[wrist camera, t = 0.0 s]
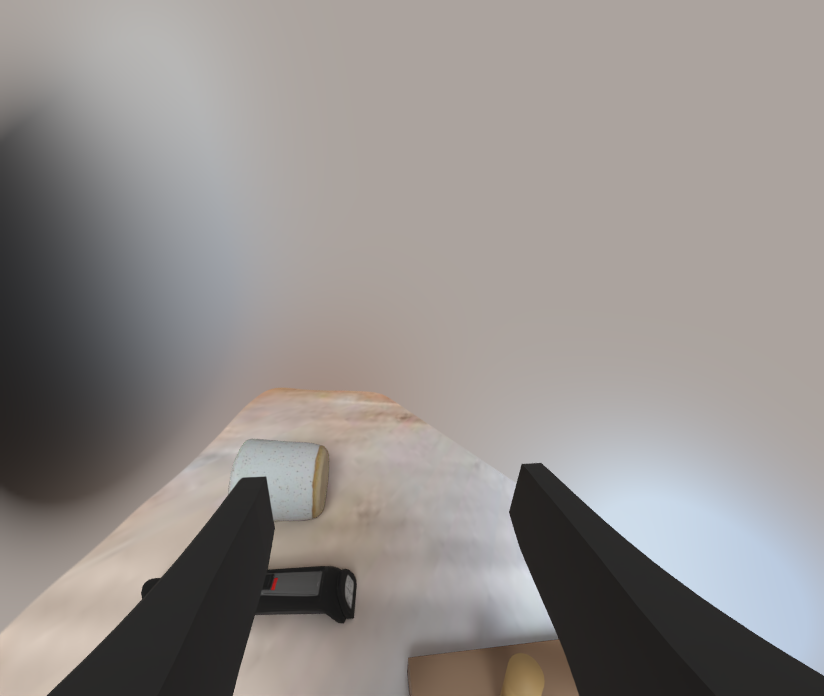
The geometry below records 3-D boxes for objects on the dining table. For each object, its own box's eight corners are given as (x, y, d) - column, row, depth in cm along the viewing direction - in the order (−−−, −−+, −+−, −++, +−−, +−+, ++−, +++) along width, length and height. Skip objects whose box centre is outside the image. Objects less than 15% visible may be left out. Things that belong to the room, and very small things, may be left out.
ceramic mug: (322, 537, 34) (318, 471, 31) (231, 540, 33) (220, 473, 30) (334, 464, 44) (332, 409, 41) (265, 465, 43) (258, 409, 40)
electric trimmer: (167, 585, 29) (158, 557, 28) (357, 579, 30) (356, 552, 29) (137, 636, 26) (126, 607, 25) (353, 628, 27) (352, 600, 26)
